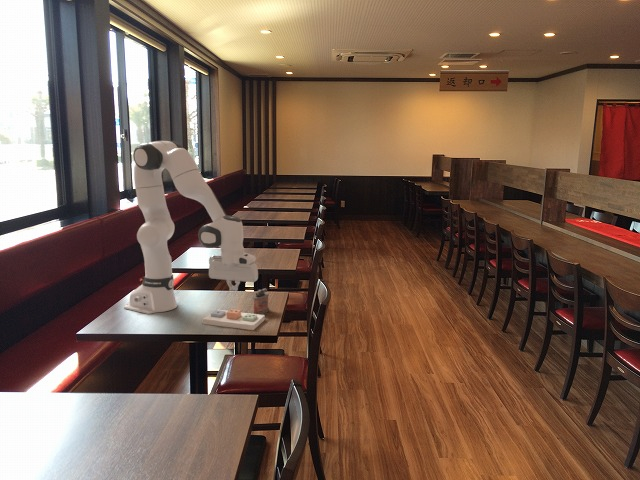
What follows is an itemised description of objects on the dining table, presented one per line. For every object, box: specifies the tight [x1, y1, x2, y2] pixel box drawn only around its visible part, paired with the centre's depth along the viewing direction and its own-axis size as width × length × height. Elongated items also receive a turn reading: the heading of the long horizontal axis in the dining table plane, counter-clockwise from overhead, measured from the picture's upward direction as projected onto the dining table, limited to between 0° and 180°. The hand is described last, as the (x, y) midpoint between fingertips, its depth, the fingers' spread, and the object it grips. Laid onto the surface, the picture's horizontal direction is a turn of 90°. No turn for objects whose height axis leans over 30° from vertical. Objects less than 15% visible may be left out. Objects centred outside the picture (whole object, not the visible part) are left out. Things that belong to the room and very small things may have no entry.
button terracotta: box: [226, 308, 242, 320], centre depth 206 cm, size 4×4×3 cm
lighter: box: [252, 287, 270, 315], centre depth 218 cm, size 8×3×10 cm, turn 143°
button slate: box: [210, 309, 227, 318], centre depth 209 cm, size 4×4×3 cm
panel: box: [201, 309, 266, 331], centre depth 207 cm, size 22×12×2 cm, turn 74°
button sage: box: [243, 313, 257, 322], centre depth 205 cm, size 4×4×3 cm
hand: (233, 290), depth 204 cm, fingers closed
